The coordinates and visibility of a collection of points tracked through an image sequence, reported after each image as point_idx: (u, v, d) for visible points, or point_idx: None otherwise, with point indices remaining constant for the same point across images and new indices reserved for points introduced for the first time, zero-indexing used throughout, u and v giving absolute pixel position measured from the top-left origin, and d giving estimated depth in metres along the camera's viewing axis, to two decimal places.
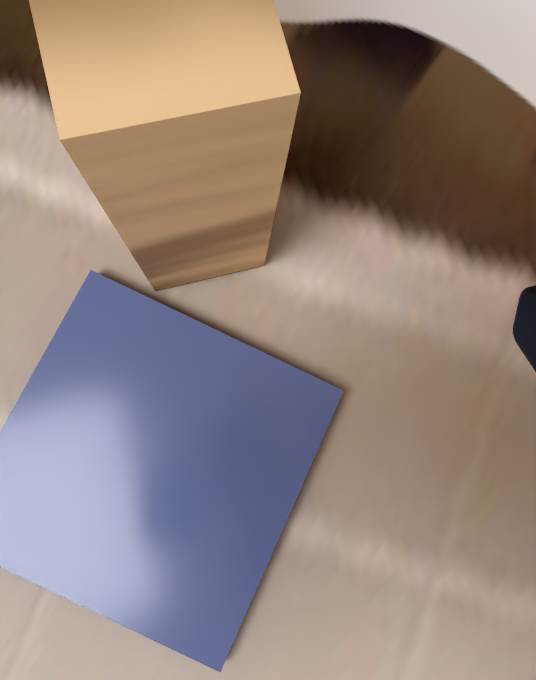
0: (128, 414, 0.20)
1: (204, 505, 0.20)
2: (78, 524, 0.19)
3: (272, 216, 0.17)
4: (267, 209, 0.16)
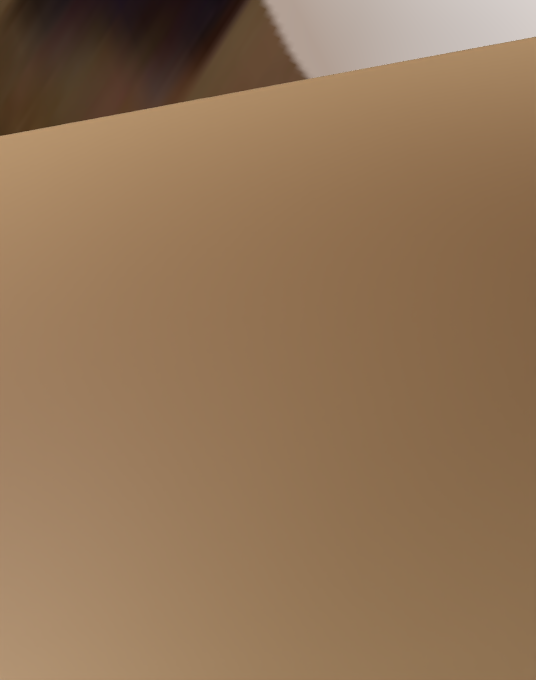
0: None
1: None
2: None
3: None
4: None
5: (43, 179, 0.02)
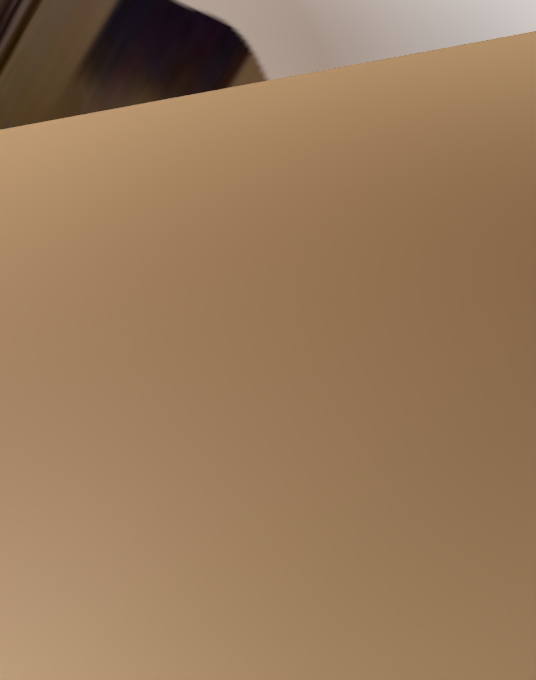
0: None
1: None
2: None
3: None
4: None
5: (43, 172, 0.02)
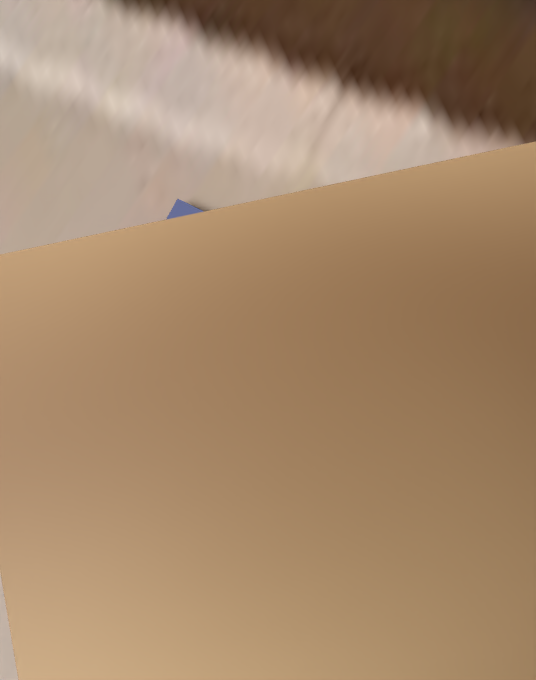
0: None
1: None
2: None
3: None
4: None
5: (116, 264, 0.04)
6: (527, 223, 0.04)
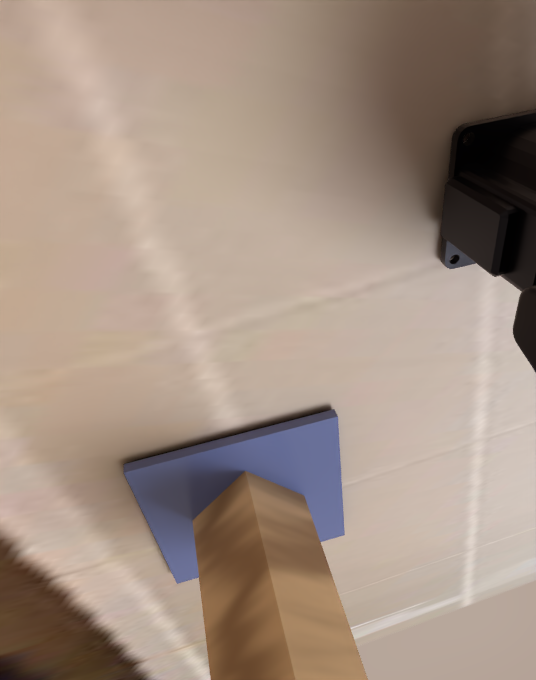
0: None
1: None
2: None
3: (268, 560, 0.24)
4: (274, 575, 0.23)
5: None
6: None
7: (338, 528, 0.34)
